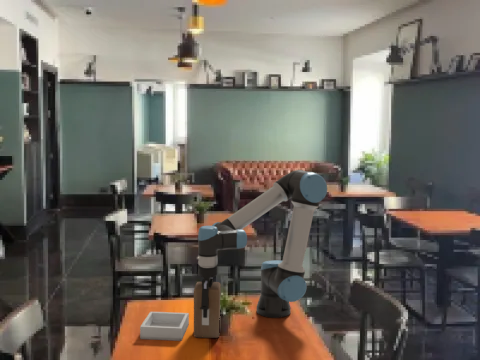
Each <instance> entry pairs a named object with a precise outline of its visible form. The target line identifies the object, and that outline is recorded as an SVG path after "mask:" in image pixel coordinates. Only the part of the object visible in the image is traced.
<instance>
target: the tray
mask: <svg viewBox="0 0 480 360" xmlns="http://www.w3.org/2000/svg"><path fill="white" fill-rule="evenodd" d="M189 314H190V313H189V312H170V311H169V312H166V311H149V313H148V315H147V316H146V318H145V319H144V320H143V322H142V324H141V325H140V328H139V330H140V331H139V333H140V334H139V337H140V338H139V339H140V340H153V341H154V340H156V341H158V340H159V341H175V342H176V341H178V342H182V340H183V339H184V337H185V335H186V332H187V330H188V327H189V323H190V317H189V316H190V315H189Z"/></svg>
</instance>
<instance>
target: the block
mask: <svg viewBox="0 0 480 360" xmlns="http://www.w3.org/2000/svg"><path fill="white" fill-rule="evenodd" d="M221 287H222V285H221V283H220V282H219V281H213V284H212V286H211V288H210V287H209V295H208V298H209V325H202V309H200V307H201V303H202V281H197V282H196V284H195V286H194V289H193V337H194V338H206V339H207V338H208V339H210V338H212V339H217V338H219V336H220V333H219V320H220V321H221V316H220V296H221V297H222V295H221V291H222V289H221ZM219 318H220V319H219Z"/></svg>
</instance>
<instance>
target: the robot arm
mask: <svg viewBox="0 0 480 360" xmlns="http://www.w3.org/2000/svg"><path fill="white" fill-rule="evenodd" d="M326 181H327V180H325V179H324V177H323V176H322V175H320V174H318V173H316V172H313V171H307V170H303V169H296V170H295V169H294V170H292V171H290V172H288V173H287V174H285V175H283V176H282V177H281V178H278V179H277V180H276V181H275V182H273V184H272V186H271V187H270V188H268V189H267V190H266V191H264V192H263V193H262V194H260V195H259V196H257V197H256V198H255V199H253V200H252V201H251V200H250V202H248V203H247V204H246V205H244V206H243V207H241V208H240V209H239V210H237V211H235V212H234V213H233V214H231V215H230V216H228V217H227V218H225V219H224V220H222V221H217V222H214V223H212V225H203V226H200V227H199V228H198V234H197V241H198V242H197V245H198V246H197V247H198V249H197V251H198V254H197V256H196V260H198V262H197V264H198V266H197V274H198V276H199V277H202V281H201V282H202V303H201V307H200V309H202V325H209V298H208V295H209V287H210V288H211V286H212V284H213V282H214V277H216V276H217V275H218V251H224V250H239V249H244V248H246V246H247V243H248V235H247V231H245V230H244V229H245V228H246V227H247V226H249V225H251V224H252V223H253V222H254V221H256V220H258V219H259V218H260V217H262V216H263V215H265V214H266V213H268V212H269V211H270V210H272V209H274V208H275V207H276V206H278V205H279V204H281V203H283V202H287V201H289V200H290V199H291V204H292V205H293V208H292V214H291V217H290V223H289V228H288V232H287V238H286V242H285V247H284V252H283V257H282V260H281V259H280V260H279V259H277V260H274V259H273V260H266V261H263V262H262V263H261V266H260V295H259V299H258V300H257V304H256V313H257V315H259V316H262V317H265V318H272V319H273V318H274V319H278V318H279V319H280V318H284V317H287V316H289V315H290V314H291V305H290V303H294V302H297V301H299V300H300V299H302V298H303V297H304V295H305V294H306V291H307V288H308V287H307V282H306V280H305V279H304V278H305V274H306V273H305V272H306V270H305V268H304V266H303V265H304V260H305V255H306V250H307V247H308V242H309V236H310V231H311V226H312V222H313V217H314V212H315V210H316V209H318V208H319V206H320V202H321V201H323V200H324V199H325V197H326V195H327V193H328V184H327V182H326Z"/></svg>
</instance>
